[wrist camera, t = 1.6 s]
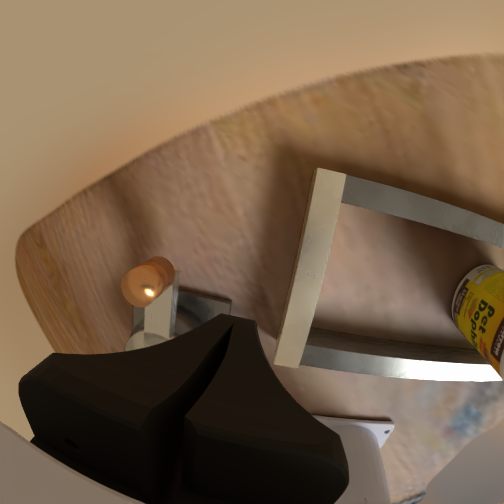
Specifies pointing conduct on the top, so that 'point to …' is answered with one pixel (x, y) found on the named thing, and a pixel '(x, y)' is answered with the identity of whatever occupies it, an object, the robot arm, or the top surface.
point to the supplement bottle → (482, 313)
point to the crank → (153, 300)
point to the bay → (313, 270)
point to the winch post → (188, 311)
